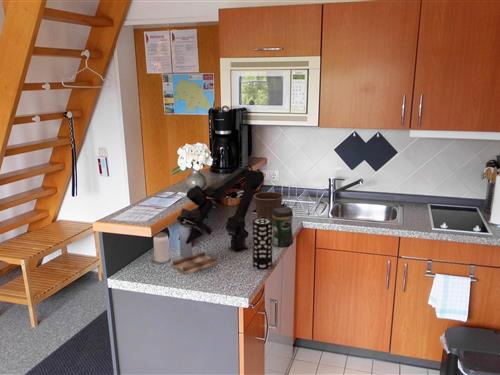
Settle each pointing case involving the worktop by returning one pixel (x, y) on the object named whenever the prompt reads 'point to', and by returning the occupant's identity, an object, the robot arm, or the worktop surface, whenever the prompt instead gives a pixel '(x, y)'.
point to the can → (161, 247)
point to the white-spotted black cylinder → (262, 243)
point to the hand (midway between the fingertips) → (182, 241)
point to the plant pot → (267, 204)
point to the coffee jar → (282, 226)
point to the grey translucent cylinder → (185, 248)
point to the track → (194, 263)
